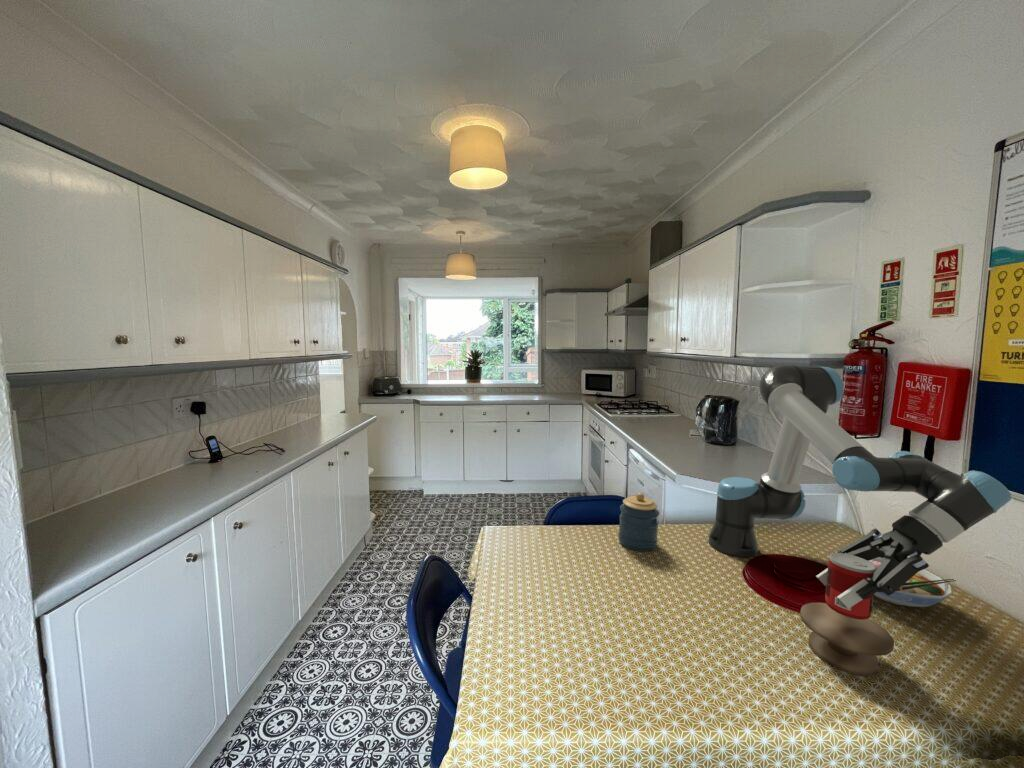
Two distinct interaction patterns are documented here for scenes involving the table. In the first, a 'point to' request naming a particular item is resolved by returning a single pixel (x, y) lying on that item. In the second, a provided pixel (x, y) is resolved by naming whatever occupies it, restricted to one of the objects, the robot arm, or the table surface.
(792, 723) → the table surface
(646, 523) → the canister
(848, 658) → the cake stand
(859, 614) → the canned food
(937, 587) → the ramen bowl
